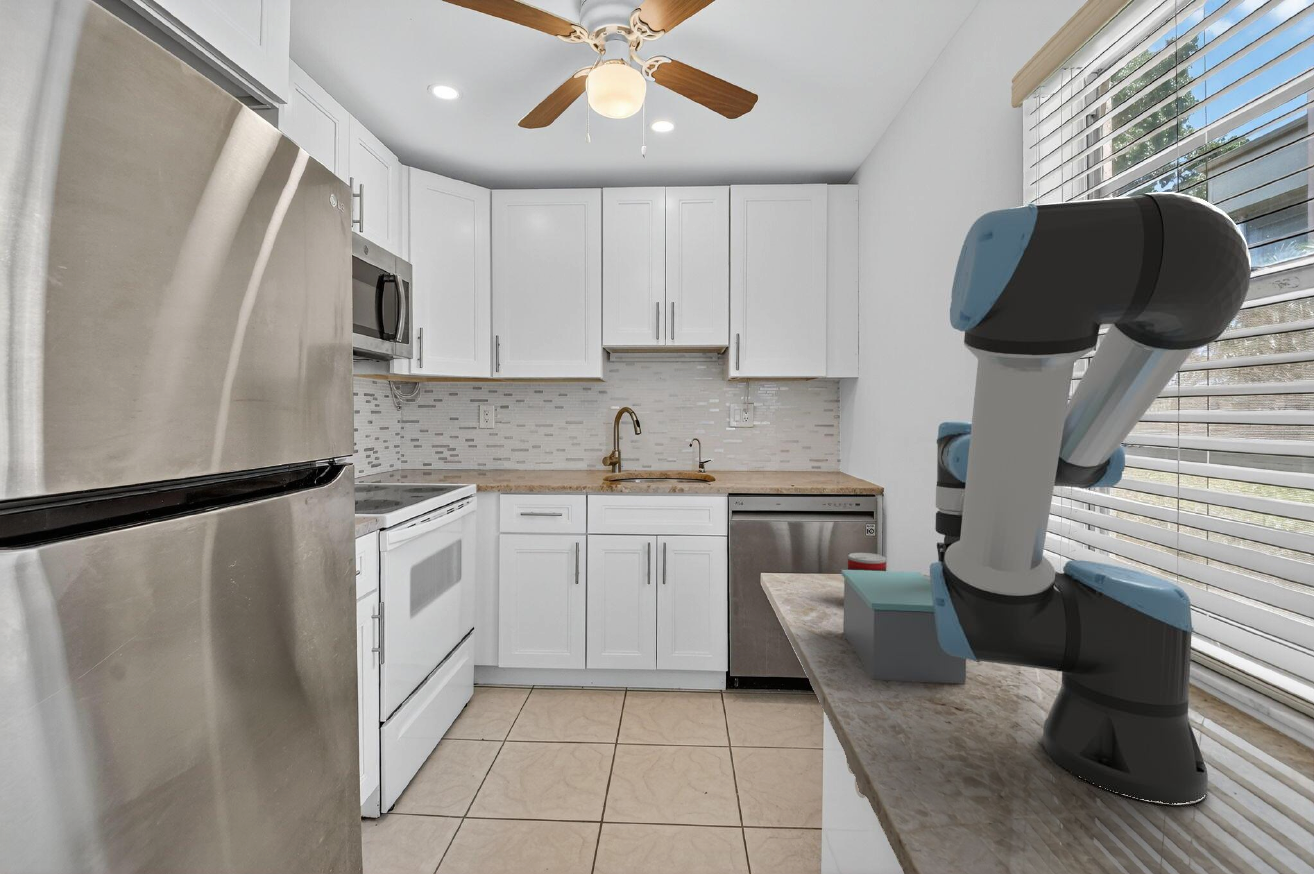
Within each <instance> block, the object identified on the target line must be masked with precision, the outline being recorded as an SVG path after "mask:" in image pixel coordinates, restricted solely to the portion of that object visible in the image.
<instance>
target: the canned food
mask: <svg viewBox="0 0 1314 874" xmlns="http://www.w3.org/2000/svg"><path fill="white" fill-rule="evenodd" d="M847 570H866V571H887V557H885V556H883V555H881V554H878V553H870V552H852V553H849V554H848V557H847Z"/></svg>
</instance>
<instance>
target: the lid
mask: <svg viewBox="0 0 1314 874" xmlns="http://www.w3.org/2000/svg"><path fill="white" fill-rule="evenodd" d="M840 574H841V576H842V578H843V579H844V578H845V580H846V581H847V582H848V583H849V584H850V585H851V586H852V588H853V589H854V590H855V591H856V592H857V593H858V594H859V596H860V597H861V598H862V599H863V600H864V601H865V603H866V604H867V605H868V606H869V607H870V608H871V609H873V610H897V611H921V612H934V609H933V601H932V592H931V582H930V578H927V576H925V575H924V574H922V573H920V572H919V571H918V572H917V571H916V572H915V571H892V570H891V571H888V570H886V571H866V570H848V569H841V573H840Z"/></svg>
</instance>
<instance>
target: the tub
mask: <svg viewBox="0 0 1314 874" xmlns="http://www.w3.org/2000/svg"><path fill="white" fill-rule="evenodd" d="M843 579H844V581H843V582H844V583H843V586H844V587H843V622H842V623H843V624H842V625H843V626H842V627H843V629H842V633H843V635H844V636H845V638H846V640H847V641H848V643H849V644H850V646H851V647H852V649H853V650H854V652H855V654H856V655H857V657H858V658H859V660H860V661H861V663H862V665H863V666H864V668H865V669H866V671H867V673H868V674H869V676H870V677H871V680H878V681H879V680H880V681H899V682H900V681H901V682H902V681H903V682H918V683H919V682H921V683H935V684H938V683H939V684H954V683H956V684H957V683H958V684H959V685H966V676H967V675H966V672H967V659H964V658H959V657H954V656H951V655H949V654H947V653H946V652H944V651H943V650H942V648H941V647H940V645H939V641H938V637H937V631H936V624H935V617H934V612H921V611H897V610H873V609H871V608H870V607H869V606H868V605H867V604H866V603H865V601H864V600H863V599H862V598H861V597H860V596H859V594H858V593H857V592H856V591H855V590H854V589H853V588H852V586H851V585H850V584H849V583H848V582H847V581H846V580H845V578H844V577H843ZM956 684H955V685H956ZM958 684H957V685H958Z"/></svg>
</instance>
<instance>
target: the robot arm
mask: <svg viewBox="0 0 1314 874" xmlns="http://www.w3.org/2000/svg"><path fill="white" fill-rule="evenodd" d="M1251 274H1252V260H1251V254H1250V250H1249V248H1248V244H1247V240H1246V239H1245V236H1244V235H1243V232H1242V231H1241V229H1240V228H1239V227H1238V226H1237V224H1236V223H1235V222H1234V221H1233V220H1232V219H1231V218H1230V216H1229V215H1228V214H1227V213H1226V212H1224V211H1223V210H1222V209H1220V208H1218V207H1216V206H1215V205H1213V204H1211V203H1210V202H1208V201H1206V200H1204V199H1201V198H1199V197H1196V196H1193V195H1192V196H1191V195H1188V194H1182V193H1179V192H1167V191H1164V192H1149V193H1141V194H1138V195H1130V196H1117V197H1107V198H1106V197H1105V198H1095V199H1086V200H1085V199H1084V200H1076V201H1075V200H1073V201H1072V200H1071V201H1064V202H1063V201H1062V202H1051V203H1042V204H1034V203H1029V204H1027V205H1022V206H1015V207H1010V208H1004V209H999V210H993V211H989V212H987V213H984V214H983V215H981V216H980V217H979V218H977V219H976V220H975V221H974V222H973V224H972V225H971V227H970V228H969V230H968V232H967V234H966V237H965V238H964V241H963V245H962V247H961V250H960V254H959V257H958V261H957V265H956V267H955V273H954V278H953V282H952V288H951V300H950V301H951V302H950V308H949V320H950V321H949V322H950V325H951V327H952V328H953V329H955V330H958V331H960V332H964V337H963V339H964V340H963V345H964V346H965V348H966V349H967V350H968V351H970V353H972V355H974V357H976V359H977V367H976V379H975V388H974V398H973V406H972V407H973V408H972V417H971V421H945V422H941V423H940V424H939V425H938V431H937V439H936V445H937V446H936V447H937V449H936V450H937V451H936V452H937V453H936V454H937V456H936V457H937V458H936V459H937V461H936V462H937V465H936V469H937V470H936V473H937V474H936V475H937V476H936V485H935V508H937V509H938V510H937V512H936V513H935V528H934V529H935V532H936V533H938V534H939V535H943V536H944V537H943V542H937V543H936V548H937V556H938V557H937V558H938V562H933V563H930V566H929V580H930V582H931V592H932V601H933V609H934V617H935V624H936V631H937V637H938V641H939V645H940V647H941V648H942V650H943V651H944V652H946V653H947V654H949V655H951V656H954V657H959V658H964V659H966V660H971V661H973V662H976V663H981V662H985V663H992V664H1001V665H1009V666H1016V667H1024V668H1032V669H1039V670H1047V671H1054V672H1061V685H1060V688H1059V690H1058V693H1057V695H1056V697H1055V699H1054V701H1053V703H1052V705H1051V708H1050V710H1049V713H1048V715H1047V718H1045V721H1044V723H1043V727H1042V746H1043V749H1044V750H1045V752H1046V753H1047V755H1048V756H1049V758H1051V759H1052V760H1053V761H1054V762H1055V763H1056V764H1058V765H1059V766H1060V767H1062V768H1063V767H1064V768H1065V769H1064V768H1063V769H1064V770H1065V771H1067V770H1069V771H1070V772H1072V773H1073V774H1072V773H1071V774H1072V775H1074V774H1075V775H1077V776H1080V777H1082V778H1083V779H1086V780H1087V781H1089V782H1091V783H1094V784H1095V785H1094V786H1096V785H1097V786H1096V787H1098V786H1101V787H1102V788H1101V789H1103V788H1106V789H1108V790H1111V791H1114V792H1118V793H1119V794H1125V795H1128V796H1131V797H1135V798H1138V799H1144V800H1149V801H1151V800H1152V801H1159V802H1160V801H1161V802H1163V803H1169V804H1172V803H1173V804H1174V803H1176V804H1177V803H1186V802H1190V801H1196V800H1198V799H1201V798H1202V797H1204V795H1206V793H1207V794H1208V785H1209V783H1208V782H1209V781H1208V780H1209V779H1208V776H1209V773H1208V769H1207V766H1206V764H1205V761H1204V757H1203V756H1202V752H1201V750H1200V747H1199V745H1198V742H1197V739H1196V736H1195V733H1194V730H1193V728H1192V725H1191V721H1190V718H1189V701H1190V700H1189V693H1190V674H1191V670H1190V669H1191V657H1192V656H1191V655H1192V653H1191V651H1192V633H1193V632H1194V627H1193V623H1192V612H1191V611H1192V610H1191V609H1192V608H1191V607H1192V606H1191V605H1192V604H1191V600H1190V597H1189V595H1188V594H1187V593H1186V592H1185V591H1184V589H1182V588H1181V587H1180V586H1178V585H1176V584H1174V583H1173V582H1170V581H1167V579H1166V580H1165V579H1162V578H1160V577H1159V576H1158V577H1157V576H1154V575H1151V574H1147V573H1145V572H1140V571H1136V570H1133V569H1129V568H1125V567H1120V566H1117V565H1112V564H1108V563H1107V564H1106V563H1102V562H1096V561H1090V560H1075V559H1072V560H1068V561H1066V562H1065V565H1064V566H1063V568H1062V569H1063V570H1062V571H1063V572H1061V573H1060V572H1056V570H1055V567H1054V566H1053V564H1052V563H1051V561H1050V560H1048V558H1046V557H1045V556H1044V549H1045V543H1046V538H1047V530H1048V526H1049V525H1048V524H1049V520H1050V519H1049V518H1050V511H1051V507H1052V502H1053V501H1052V500H1053V494H1054V488H1055V487H1067V488H1079V489H1085V490H1086V489H1091V488H1112V487H1114V486H1116V485H1118V484H1119V483H1120V481H1121V480H1122V478H1123V472H1124V471H1125V467H1126V453H1125V449H1124V447H1123V445H1122V443H1123V442H1124V441H1125V439H1126V438H1127V437H1128V435H1129V434H1130V433H1131V431H1132V430H1133V429H1134V428H1135V427H1136V425H1137V424H1138V423H1139V421H1140V420H1141V419H1142V417H1143V416H1144V415H1145V414H1146V412H1147V411H1148V410H1149V408H1150V407H1151V406H1152V404H1153V403H1154V402H1155V400H1157V398H1159V395H1160V394H1161V393H1162V392H1163V390H1164V389H1165V388H1166V386H1167V385H1169V383H1170V381H1171V380H1172V379H1173V377H1174V376H1175V375H1176V373H1177V372H1178V371H1179V370H1180V368H1181V367H1182V366H1183V364H1185V362H1186V361H1187V359H1188V358H1189V357H1190V355H1191V354H1192V352H1193V351H1195V350H1199V349H1201V348H1204V347H1206V346H1208V345H1210V344H1212V343H1213V342H1214V341H1217V339H1218V338H1219V337H1220V336H1221V335H1222V334H1223V333H1224V332H1225V330H1226V329H1227V328H1228V326H1229V325H1230V324H1231V322H1232V321H1233V320H1234V319H1235V318H1236V316H1237V315H1238V313H1239V312H1240V310H1241V308H1242V306H1243V304H1244V302H1245V300H1246V297H1247V294H1248V291H1249V289H1250V281H1251V276H1252V275H1251ZM1103 325H1110V326H1109V328H1108V329H1107V331H1106V333H1105V334H1104V336H1103V339H1102V340H1101V342H1100V344H1099V346H1098V347H1097V344H1098V339H1099V333H1100V328H1101V326H1103ZM1096 347H1097V350H1096V352H1095V353H1094V355H1093V357H1092V358H1091V360H1090V362H1089V364H1088V367H1087V368H1086V370H1085V371H1084V373H1083V375H1082V377H1081V379H1080V381H1079V383H1078V384H1077V387H1076V389H1075V390H1074V392H1073V394H1072V396H1071V397H1070V391H1071V384H1072V379H1073V374H1074V368H1075V367H1074V366H1075V363H1076V362H1077V361H1078V360H1080V359H1081V358H1082V357H1084V356H1085V355H1087V354H1089V353H1090V352H1091V351H1093V350H1094V349H1096ZM1069 397H1070V399H1069ZM1069 771H1068V772H1069ZM1070 772H1069V773H1070ZM1075 775H1074V776H1075ZM1077 776H1076V777H1077ZM1083 779H1082V780H1083ZM1087 781H1086V782H1087ZM1089 782H1088V783H1089ZM1091 783H1090V784H1091ZM1108 790H1107V791H1108ZM1111 791H1110V792H1111ZM1119 794H1118V795H1119Z"/></svg>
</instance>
